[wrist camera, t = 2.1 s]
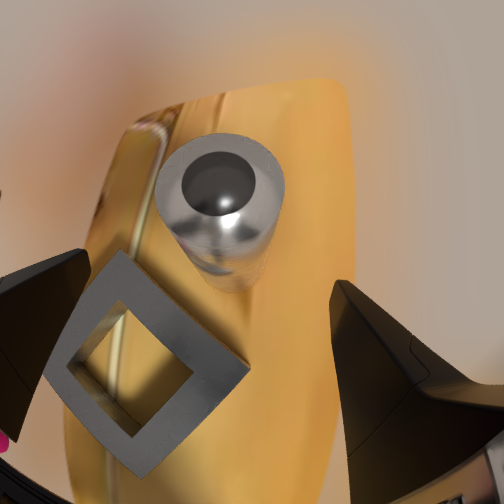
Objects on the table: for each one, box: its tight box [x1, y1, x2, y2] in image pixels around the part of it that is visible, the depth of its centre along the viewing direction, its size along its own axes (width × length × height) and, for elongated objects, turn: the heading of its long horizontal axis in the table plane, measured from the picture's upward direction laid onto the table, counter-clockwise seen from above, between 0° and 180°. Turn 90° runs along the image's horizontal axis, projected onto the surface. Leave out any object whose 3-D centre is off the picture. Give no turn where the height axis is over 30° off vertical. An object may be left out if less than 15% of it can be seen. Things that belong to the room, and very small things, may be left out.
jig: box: [42, 249, 251, 479], centre depth 17 cm, size 12×12×2 cm
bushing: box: [155, 133, 285, 293], centre depth 16 cm, size 5×5×11 cm
